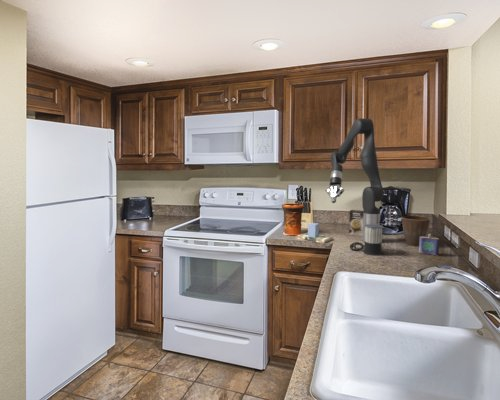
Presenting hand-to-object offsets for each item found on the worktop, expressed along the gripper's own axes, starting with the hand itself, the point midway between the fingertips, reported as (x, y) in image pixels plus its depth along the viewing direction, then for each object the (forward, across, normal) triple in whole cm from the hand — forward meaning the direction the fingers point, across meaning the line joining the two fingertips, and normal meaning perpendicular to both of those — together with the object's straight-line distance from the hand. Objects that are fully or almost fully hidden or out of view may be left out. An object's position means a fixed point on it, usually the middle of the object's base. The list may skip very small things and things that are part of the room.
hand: (333, 202), depth 224 cm
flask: (+33, +55, +3) cm, 65 cm away
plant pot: (+23, +45, +18) cm, 53 cm away
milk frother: (+37, +27, -12) cm, 47 cm away
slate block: (+26, -7, -8) cm, 28 cm away
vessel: (+21, -27, 0) cm, 34 cm away
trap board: (+27, -7, -5) cm, 28 cm away
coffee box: (+14, +8, +22) cm, 28 cm away
